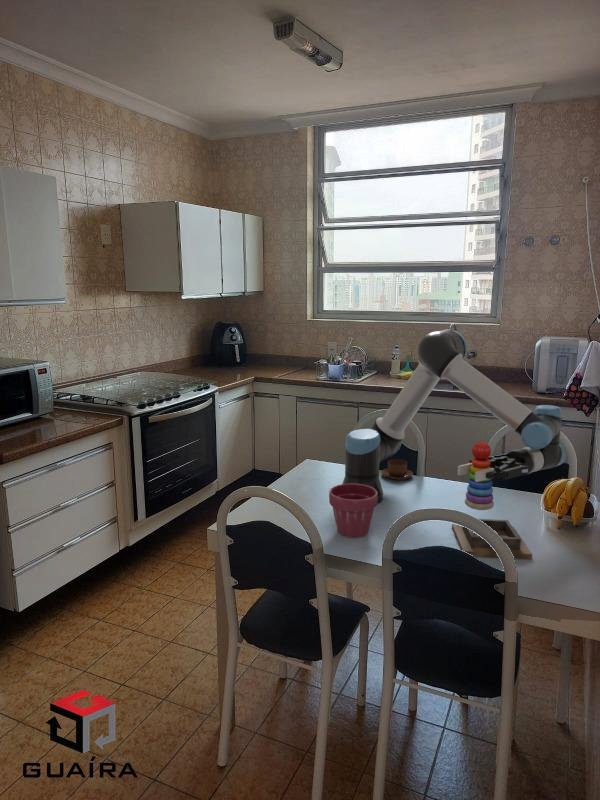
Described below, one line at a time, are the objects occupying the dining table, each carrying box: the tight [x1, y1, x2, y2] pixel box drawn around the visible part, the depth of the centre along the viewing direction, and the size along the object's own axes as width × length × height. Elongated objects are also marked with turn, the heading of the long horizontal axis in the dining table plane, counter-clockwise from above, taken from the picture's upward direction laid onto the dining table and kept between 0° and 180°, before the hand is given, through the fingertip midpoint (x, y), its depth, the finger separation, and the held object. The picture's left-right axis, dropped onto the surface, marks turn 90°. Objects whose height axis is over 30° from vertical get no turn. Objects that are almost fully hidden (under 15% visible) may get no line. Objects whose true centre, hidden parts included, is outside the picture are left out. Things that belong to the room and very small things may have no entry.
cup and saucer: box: [381, 458, 414, 480], centre depth 215 cm, size 12×12×6 cm
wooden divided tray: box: [451, 518, 533, 560], centre depth 157 cm, size 18×18×4 cm
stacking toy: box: [464, 441, 495, 511], centre depth 156 cm, size 8×8×19 cm
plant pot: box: [328, 483, 378, 539], centre depth 164 cm, size 14×14×13 cm
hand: (467, 473), depth 153 cm, fingers closed on stacking toy, 6 cm apart
